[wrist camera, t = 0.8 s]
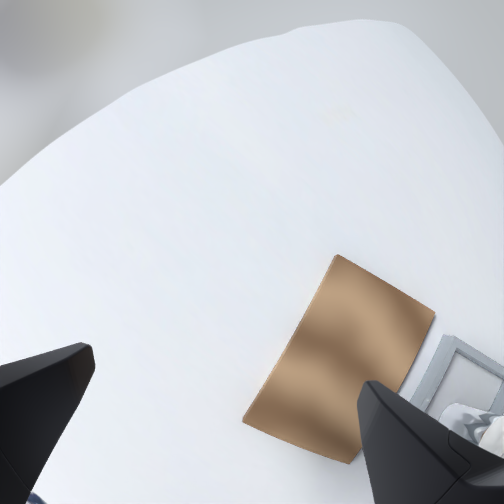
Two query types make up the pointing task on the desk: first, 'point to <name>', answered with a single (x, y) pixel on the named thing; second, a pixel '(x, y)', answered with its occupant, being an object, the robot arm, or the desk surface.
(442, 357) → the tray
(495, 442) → the milkshake
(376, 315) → the board
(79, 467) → the desk surface
